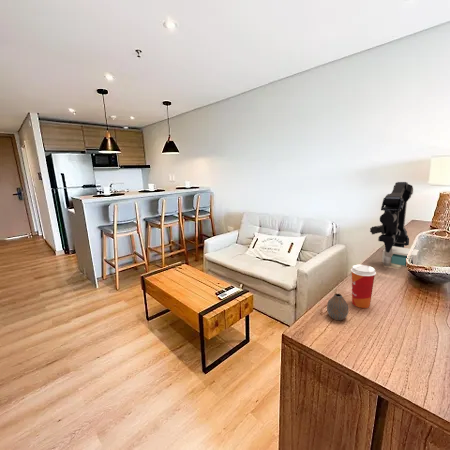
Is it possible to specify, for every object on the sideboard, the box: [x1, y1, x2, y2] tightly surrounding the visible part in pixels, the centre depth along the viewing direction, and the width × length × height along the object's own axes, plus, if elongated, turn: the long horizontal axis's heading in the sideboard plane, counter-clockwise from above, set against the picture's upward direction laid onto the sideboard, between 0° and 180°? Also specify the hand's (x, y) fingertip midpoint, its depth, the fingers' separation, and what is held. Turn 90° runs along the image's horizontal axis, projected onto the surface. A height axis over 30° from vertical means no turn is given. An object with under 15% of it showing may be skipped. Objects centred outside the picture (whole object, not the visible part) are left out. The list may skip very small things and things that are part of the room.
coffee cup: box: [350, 263, 377, 309], centre depth 92 cm, size 8×8×15 cm
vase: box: [326, 292, 349, 321], centre depth 86 cm, size 7×7×9 cm
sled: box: [382, 247, 407, 270], centre depth 125 cm, size 14×10×12 cm
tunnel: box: [381, 246, 420, 265], centre depth 127 cm, size 10×14×8 cm
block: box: [391, 254, 408, 267], centre depth 127 cm, size 6×6×4 cm
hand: (388, 251), depth 123 cm, fingers closed on sled, 3 cm apart
